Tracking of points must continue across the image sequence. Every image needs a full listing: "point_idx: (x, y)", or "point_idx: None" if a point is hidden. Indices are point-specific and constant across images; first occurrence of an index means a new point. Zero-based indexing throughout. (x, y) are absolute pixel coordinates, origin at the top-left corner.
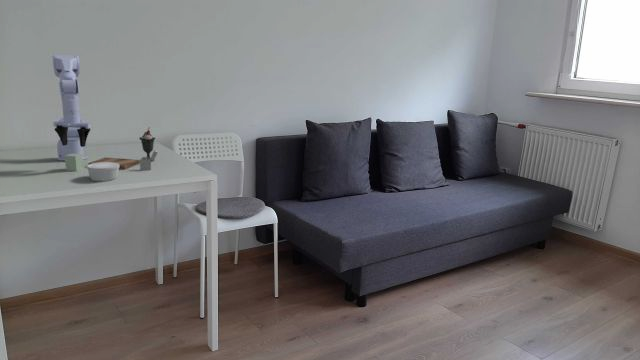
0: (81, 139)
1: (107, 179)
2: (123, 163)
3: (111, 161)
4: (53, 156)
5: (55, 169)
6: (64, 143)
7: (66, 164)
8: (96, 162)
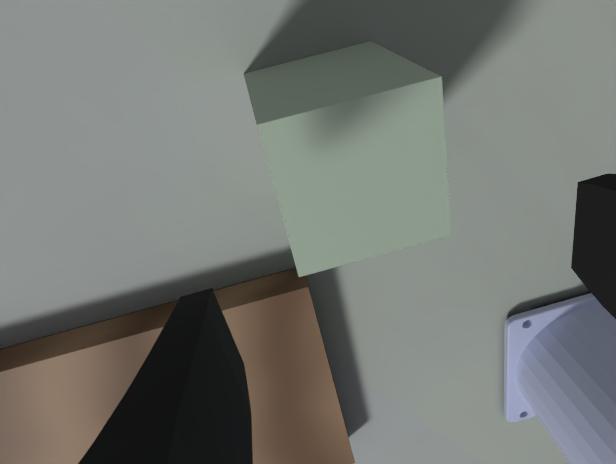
0: (124, 420)
1: None
2: (27, 436)
3: None
4: None
5: (504, 15)
6: (605, 214)
7: (383, 56)
8: (264, 339)
